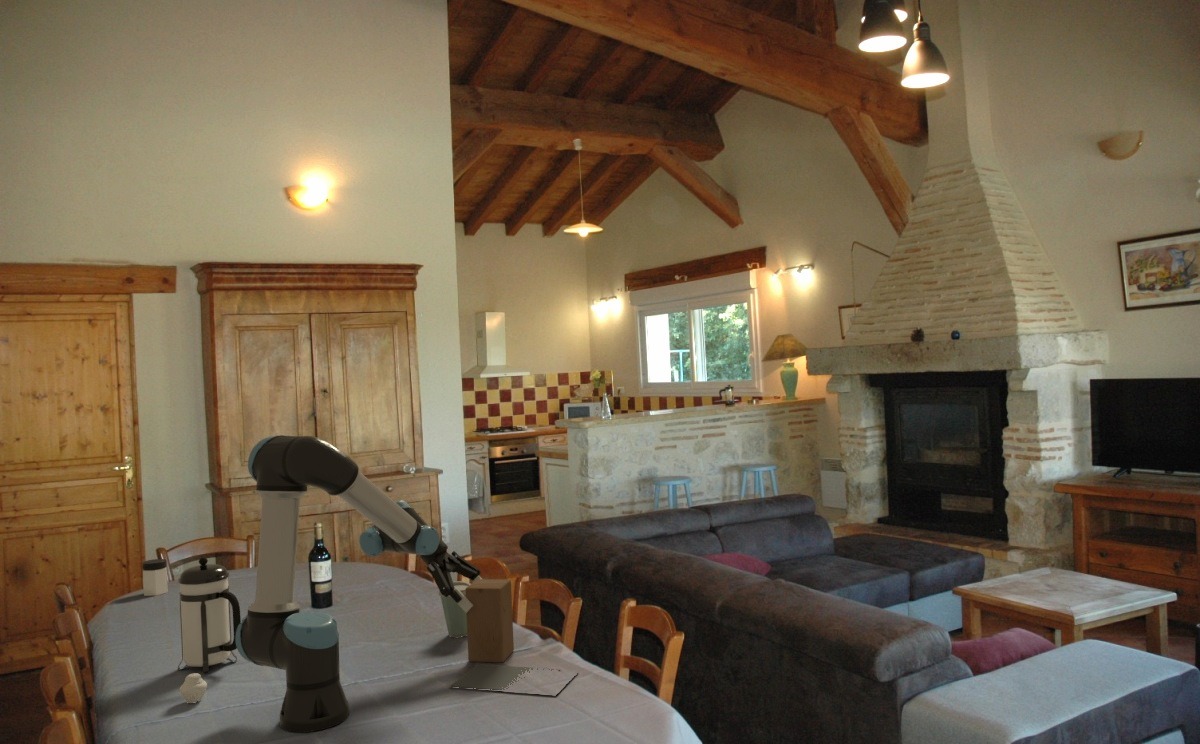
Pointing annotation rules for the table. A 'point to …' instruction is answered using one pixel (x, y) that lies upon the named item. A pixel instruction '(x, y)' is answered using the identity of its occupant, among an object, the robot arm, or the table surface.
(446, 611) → the disposable coffee cup
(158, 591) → the jar
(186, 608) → the coffee press
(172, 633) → the table surface
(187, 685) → the beige rounded lump
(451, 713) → the table surface
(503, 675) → the mat
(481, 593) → the wooden block
